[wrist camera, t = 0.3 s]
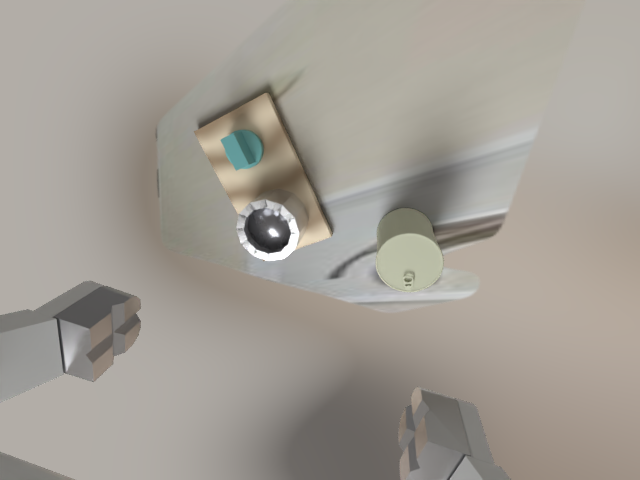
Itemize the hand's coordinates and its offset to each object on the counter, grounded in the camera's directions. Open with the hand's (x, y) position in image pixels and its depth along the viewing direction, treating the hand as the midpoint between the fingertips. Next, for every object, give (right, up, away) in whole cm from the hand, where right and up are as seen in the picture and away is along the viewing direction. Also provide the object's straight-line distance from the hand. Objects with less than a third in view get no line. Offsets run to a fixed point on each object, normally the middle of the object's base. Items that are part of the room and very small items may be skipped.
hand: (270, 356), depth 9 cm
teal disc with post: (-11, +18, +44) cm, 49 cm away
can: (+16, +4, +46) cm, 49 cm away
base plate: (-8, +13, +47) cm, 50 cm away
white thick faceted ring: (-5, +7, +47) cm, 48 cm away
